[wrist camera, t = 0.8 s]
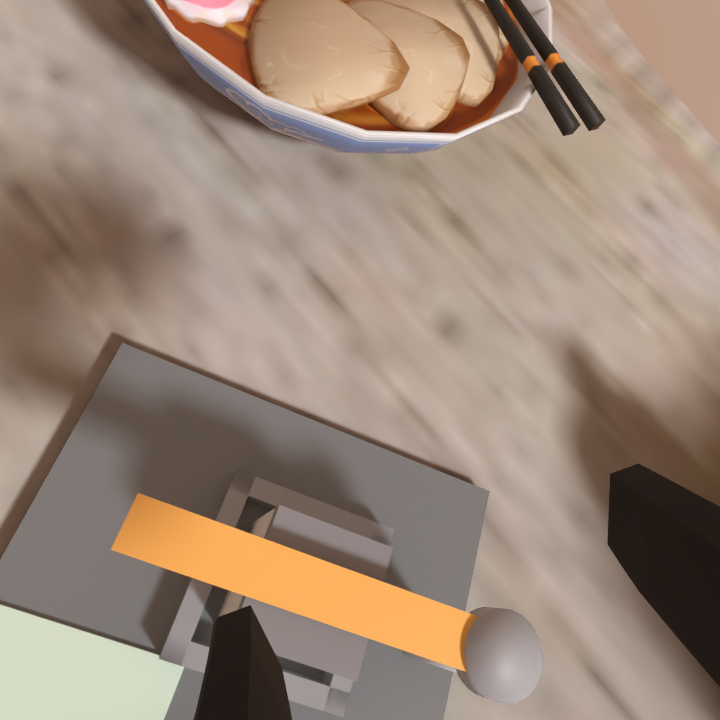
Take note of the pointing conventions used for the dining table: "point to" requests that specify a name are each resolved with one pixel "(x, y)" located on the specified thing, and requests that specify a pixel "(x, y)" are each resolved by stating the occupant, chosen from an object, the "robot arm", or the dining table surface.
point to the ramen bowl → (377, 66)
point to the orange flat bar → (339, 597)
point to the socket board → (230, 507)
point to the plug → (300, 633)
